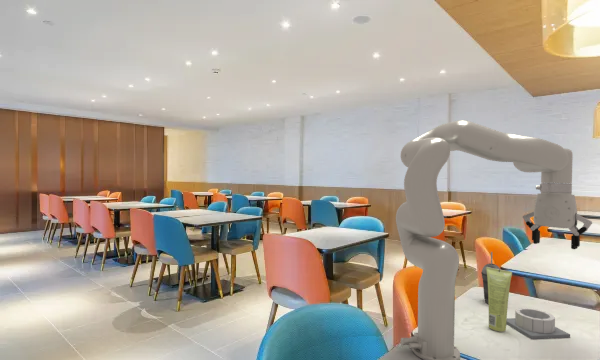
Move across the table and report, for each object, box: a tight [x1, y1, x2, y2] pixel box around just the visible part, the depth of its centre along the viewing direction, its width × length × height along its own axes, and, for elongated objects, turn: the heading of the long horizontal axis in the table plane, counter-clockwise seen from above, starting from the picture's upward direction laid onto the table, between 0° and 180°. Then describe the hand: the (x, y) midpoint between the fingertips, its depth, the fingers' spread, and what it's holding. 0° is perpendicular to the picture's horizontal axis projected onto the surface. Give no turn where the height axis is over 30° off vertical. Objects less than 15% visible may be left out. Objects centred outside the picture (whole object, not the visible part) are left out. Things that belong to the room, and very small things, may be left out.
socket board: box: [506, 307, 571, 340], centre depth 113 cm, size 13×13×5 cm
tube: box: [486, 267, 513, 333], centre depth 113 cm, size 6×5×20 cm
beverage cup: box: [481, 251, 502, 306], centre depth 136 cm, size 7×7×20 cm
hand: (554, 245), depth 105 cm, fingers open, 9 cm apart
